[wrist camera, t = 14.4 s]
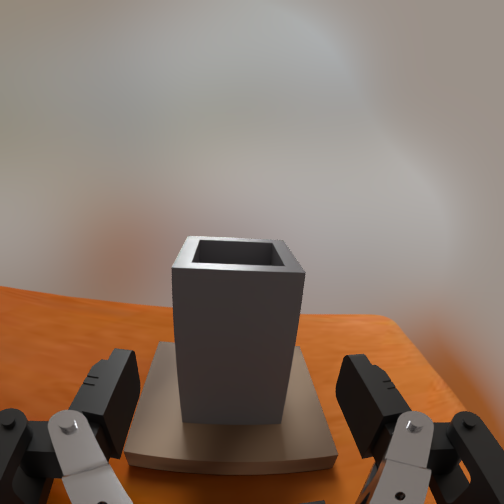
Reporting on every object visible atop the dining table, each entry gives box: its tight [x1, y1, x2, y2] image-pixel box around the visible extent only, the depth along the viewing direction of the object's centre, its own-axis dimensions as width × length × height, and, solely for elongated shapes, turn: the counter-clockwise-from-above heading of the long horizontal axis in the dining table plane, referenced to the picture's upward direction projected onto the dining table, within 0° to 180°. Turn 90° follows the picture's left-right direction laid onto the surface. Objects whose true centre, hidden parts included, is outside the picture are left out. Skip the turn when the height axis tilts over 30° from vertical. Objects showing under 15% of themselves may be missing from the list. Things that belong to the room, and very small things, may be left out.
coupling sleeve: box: [172, 236, 305, 425], centre depth 18 cm, size 6×6×10 cm
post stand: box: [124, 341, 338, 475], centre depth 18 cm, size 12×12×8 cm
